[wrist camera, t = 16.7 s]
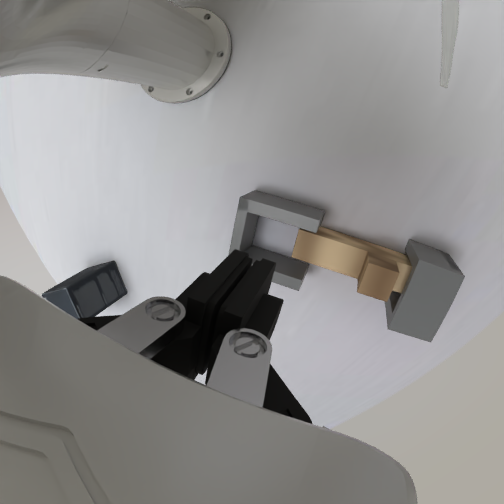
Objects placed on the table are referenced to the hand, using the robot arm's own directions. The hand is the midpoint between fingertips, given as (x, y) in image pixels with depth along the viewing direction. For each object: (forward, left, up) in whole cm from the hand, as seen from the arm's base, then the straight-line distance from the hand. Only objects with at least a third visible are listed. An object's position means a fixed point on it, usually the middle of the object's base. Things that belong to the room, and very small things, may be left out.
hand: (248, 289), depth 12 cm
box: (-28, -21, -22) cm, 41 cm away
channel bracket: (+13, -5, -22) cm, 26 cm away
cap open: (-3, -5, -22) cm, 22 cm away
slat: (+7, -4, -22) cm, 23 cm away
